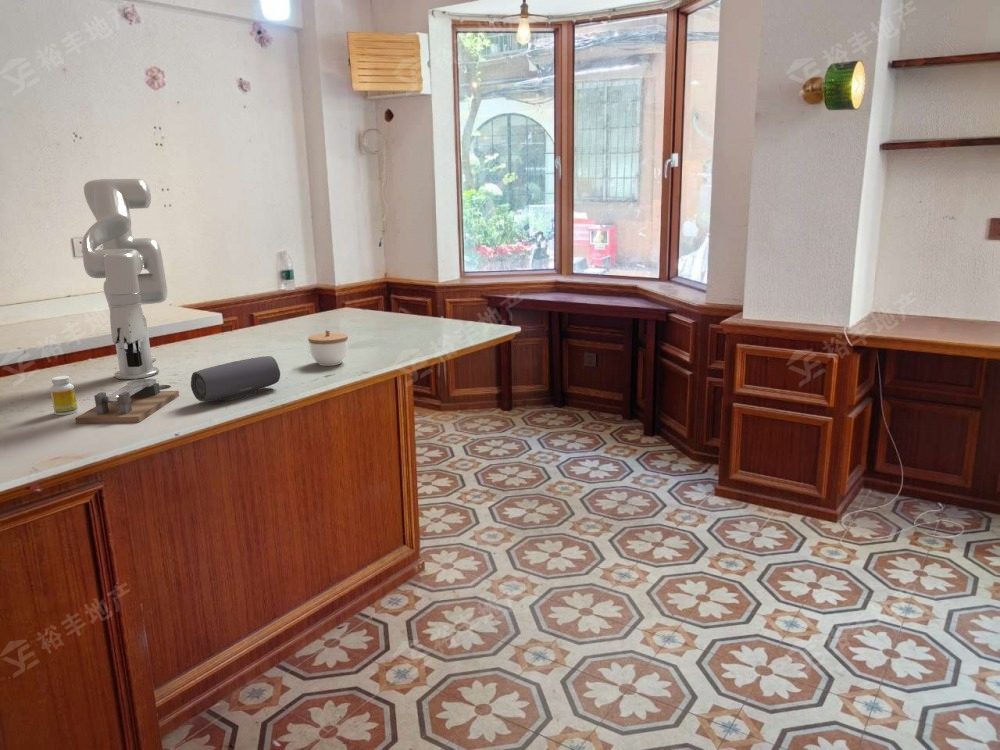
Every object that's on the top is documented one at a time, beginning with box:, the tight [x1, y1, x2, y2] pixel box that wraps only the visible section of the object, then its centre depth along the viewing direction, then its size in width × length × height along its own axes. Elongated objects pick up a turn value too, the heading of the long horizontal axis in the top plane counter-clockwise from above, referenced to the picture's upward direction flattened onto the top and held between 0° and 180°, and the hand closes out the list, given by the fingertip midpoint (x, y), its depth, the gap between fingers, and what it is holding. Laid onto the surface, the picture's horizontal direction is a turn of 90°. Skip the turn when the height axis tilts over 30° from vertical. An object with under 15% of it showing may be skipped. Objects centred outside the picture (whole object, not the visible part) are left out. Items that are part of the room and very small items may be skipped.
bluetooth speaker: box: [190, 355, 281, 402], centre depth 205 cm, size 23×9×10 cm, turn 141°
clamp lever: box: [103, 378, 157, 403], centre depth 196 cm, size 19×6×2 cm, turn 0°
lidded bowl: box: [307, 329, 349, 367], centre depth 242 cm, size 13×13×11 cm
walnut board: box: [74, 390, 180, 425], centre depth 196 cm, size 24×16×6 cm, turn 0°
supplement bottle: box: [50, 375, 79, 416], centre depth 193 cm, size 5×5×10 cm
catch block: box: [131, 382, 161, 396], centre depth 205 cm, size 3×7×3 cm, turn 91°
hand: (135, 366), depth 200 cm, fingers closed
